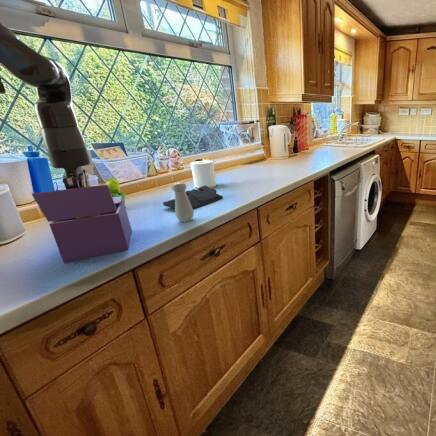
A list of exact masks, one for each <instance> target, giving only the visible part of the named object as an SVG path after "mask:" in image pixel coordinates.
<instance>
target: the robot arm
mask: <svg viewBox="0 0 436 436" xmlns="http://www.w3.org/2000/svg"><path fill="white" fill-rule="evenodd" d="M0 66H1V67H3V68H4V69H5V70H6V71H8V72H9V73H10V74H11V75H13V76H14V77H16V78H17V79H18V80H20V81H21V82H23V83H25V84H27V85H28V86H30V87H34V88H35V92H36V97H37V101H35V103H34V105H33V111H34V114H35V116H36V119H37V122H38V125H39V128H40V133H41V139H42V142H43V144H44V147H45V151H46V153H47V157H48V158H49V162H50V165H51V167H52V168H54V169H59V170H60V169H63V170H64V175H63V178H62V183H63V185H64V187H65V190H66V189H74V188H82V187H91V184H90V179H89V176H88V174H87V173H88V172H87V170H86V169H83V167H86V166H90V164H91V158H90V155H89V153H88V148H87V146H86V143H85V139H84V136H83V133H82V131H81V129H80V127H79V124H78V120H77V117H76V114H75V113H76V112H75V110H74V108H73V98H72V88H71V87H72V86H71V82H70V79H69V75H68V73H67V71H66V69H65V68H64V66H63V65H62V64H61V63H59V62H58V61H57V60H55V59H53V58H51V57H49V56H45V55H43V54H42V53H39V52H38V51H36V50H35V49H33V48H32V47H30V46H29V45H28V44H27V43H24V42H23V41H22V40H20V39H19V37H18V35H17V34H16V33H15V32H14V31H12V30H11V29H10V28H9V27H7V26H6V25H4V24H3V23H2V22H0Z"/></svg>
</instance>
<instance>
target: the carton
mask: <svg viewBox="0 0 436 436" xmlns="http://www.w3.org/2000/svg"><path fill="white" fill-rule="evenodd" d="M112 198H113V201H114V203H115V206H116V209H117V211H115V212H109V213H103V214H100V216H94V217H88V218H82V219H77V218H70V219H64V220H57V221H51V222H49V224H48V225H49V228H50V230H51V233H52V235H53V238H54V241H55V244H56V246H57V249H58V251H59V254H60V257H61V259H62V262H63V264H66V263H69V262H70V263H71V262H75V261H80V260H85V259H89V258H94V257H99V256H103V255H110V254H113V253H118V252H124V251H129V249H130V245H131V244H130V243H131V236H132V225H131V222H130V219H129V215H128V212H127V211H128V210H127V208H126V204H124V200H123V199H122V196H120V197H112Z"/></svg>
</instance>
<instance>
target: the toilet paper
mask: <svg viewBox="0 0 436 436" xmlns="http://www.w3.org/2000/svg"><path fill="white" fill-rule="evenodd" d="M190 169H191V174H192V179H193V186H194V188H195V187H197V188H196V189H198V188H200V187H202V186H207V187H210V188H213V187H216V186H217V185H218V184H217V178H216V172H215V166H214V161H213V160H197V161H196V160H195V161H192V162H190Z"/></svg>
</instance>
